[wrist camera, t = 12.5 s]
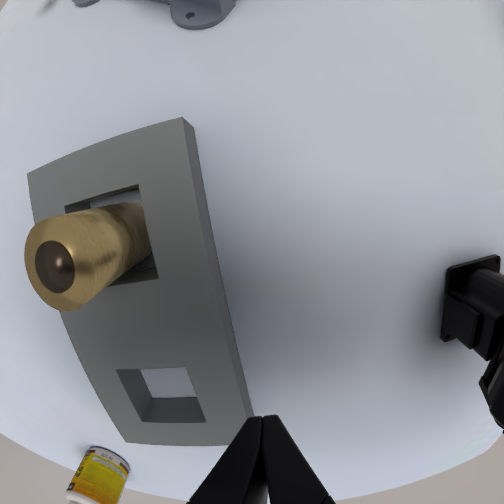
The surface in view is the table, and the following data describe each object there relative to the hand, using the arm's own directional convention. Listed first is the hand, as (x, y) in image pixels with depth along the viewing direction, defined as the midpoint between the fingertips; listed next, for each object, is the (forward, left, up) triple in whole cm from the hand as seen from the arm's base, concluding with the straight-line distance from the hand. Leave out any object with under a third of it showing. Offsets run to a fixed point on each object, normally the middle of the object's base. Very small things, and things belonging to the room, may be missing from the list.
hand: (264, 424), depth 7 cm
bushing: (+8, -5, -12) cm, 15 cm away
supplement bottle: (+21, +19, -12) cm, 31 cm away
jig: (+8, 0, -12) cm, 14 cm away
